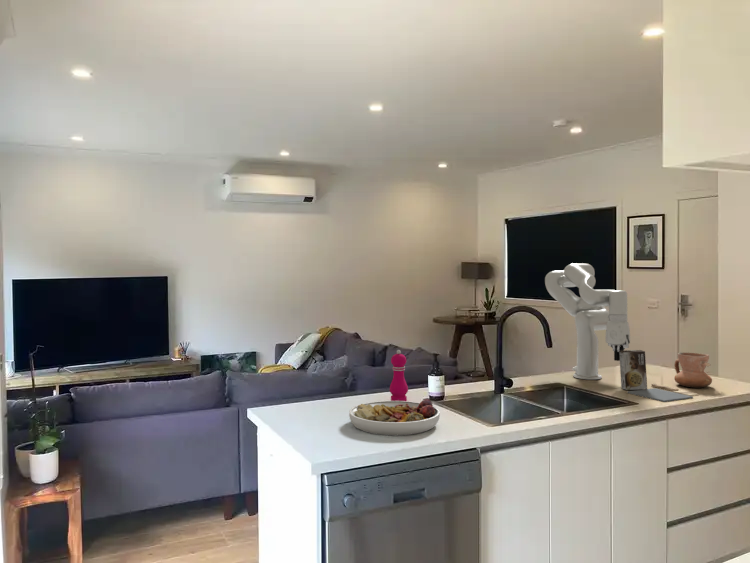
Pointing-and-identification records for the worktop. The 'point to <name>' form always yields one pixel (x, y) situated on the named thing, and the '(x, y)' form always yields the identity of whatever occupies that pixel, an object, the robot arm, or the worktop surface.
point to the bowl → (395, 417)
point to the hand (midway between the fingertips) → (618, 360)
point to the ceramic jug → (692, 370)
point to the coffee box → (633, 369)
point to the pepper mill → (398, 378)
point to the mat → (660, 394)
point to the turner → (675, 390)
